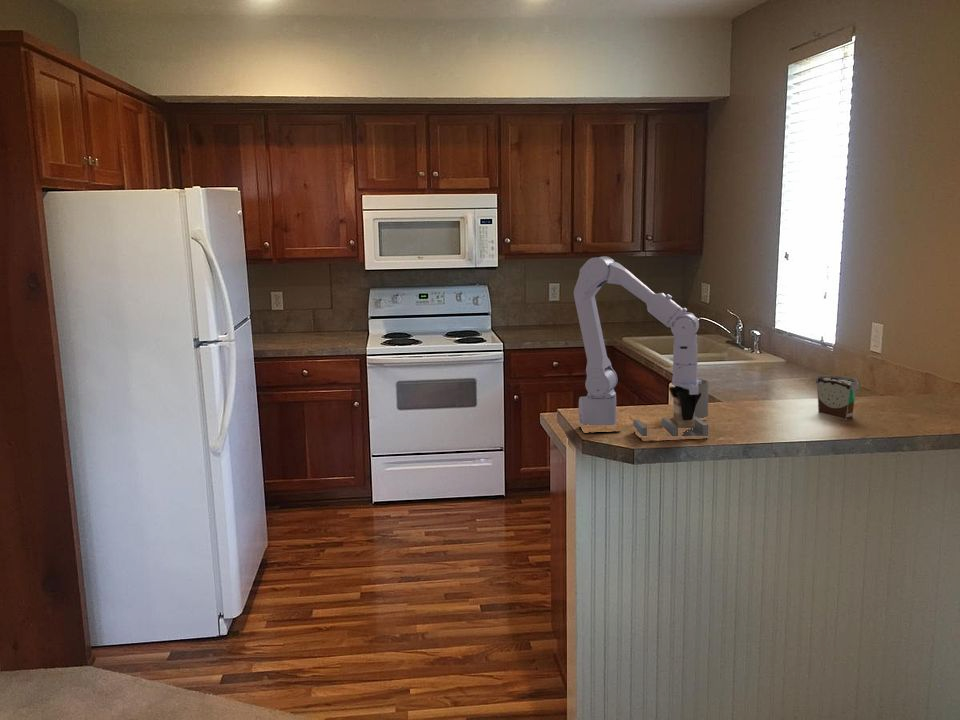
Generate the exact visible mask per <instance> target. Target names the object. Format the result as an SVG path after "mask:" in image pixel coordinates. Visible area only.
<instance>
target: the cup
mask: <svg viewBox="0 0 960 720" xmlns="http://www.w3.org/2000/svg"><path fill="white" fill-rule="evenodd" d="M697 380H701V381H702V384H698V387H699V392H700V393H701V397H700V398H699V400H698V402H697V404H696V407H695V416H696V417H698V418H704V417H707V416H708V417H709V387H710V386H709V385H710V384H709V381H708V380H706V379H702V378H701V379H700V378H697Z"/></svg>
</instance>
